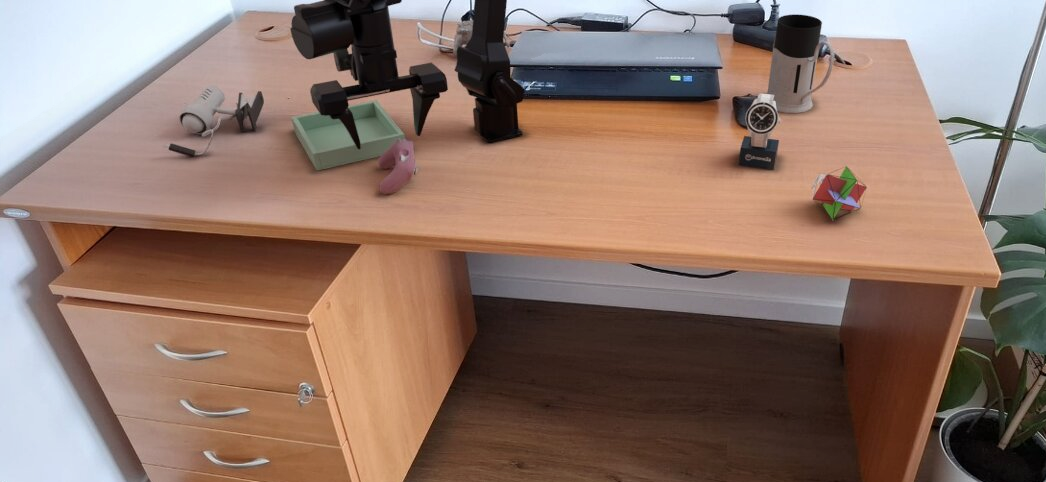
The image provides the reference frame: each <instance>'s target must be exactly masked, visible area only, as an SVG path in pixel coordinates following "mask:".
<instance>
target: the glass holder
mask: <svg viewBox="0 0 1046 482" xmlns="http://www.w3.org/2000/svg"><path fill="white" fill-rule="evenodd" d="M822 25H823V21H822V20H821V19H820V18H817V17H815V16H811V15H808V14H807V15H806V14H785V15H782V16H779V17H778V18H777V22H776V30H775V37H774V39H773V44H772V45H773V46H772V53H771V61H770V69H769V78H768V85H767V93H766V94H770V95H774V100H773V101H775V103H776V109H777V112H779V113H786V114H801V113H804V112H807V111H810V110H811V109H812V108H813V107H814V106H813V101H812V94H813V93H815V92H817V91H818V90H819V89H821V88H822V87H824V86H825V84H826V83H827V82H828V80H829V78H830V76H831V74H832V71H833V67H834V63H835V49H834V46H833V45H832V44H831V43H830V42H829V41H820V39H821V33H822V27H823V26H822ZM823 45H825V46H826V47H827V48H828V51H829V55H830V57H829V63H828V68H827V71H826V74H825V76H824V78H823V79H822V81H821V82H820V84H818V86H816V87H814V82H815V76H816V71H817V69H816V68H817V64H818V57H819V53H820V50H821V47H822V46H823Z"/></svg>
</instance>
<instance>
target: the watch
mask: <svg viewBox="0 0 1046 482" xmlns="http://www.w3.org/2000/svg"><path fill="white" fill-rule="evenodd" d="M773 100H774V95H770V94H767V93H758V95H757V98H754V99H753V102H752V104H751V105H750V107H749V108H748V109H747V111H746V113H745V124H746V128H747V133H748V135H744V136H743V138H742V142H741V145H740V149H739V158H738V166H740V167H741V166H742V167H749V168H755V169H765V170H772V171H774V170H775V166H776V162H777V158H778V151H779V144H780V140H779V139H773V138H771V137H772V135H773V132H774V131H775V129H776V127H777V126H778V124H781V123H782V118H780V117H779V113H778V112H779V111H777V109H776V103H775V101H773Z"/></svg>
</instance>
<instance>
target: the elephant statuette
mask: <svg viewBox="0 0 1046 482" xmlns="http://www.w3.org/2000/svg"><path fill="white" fill-rule="evenodd" d="M456 25H457V27H456V29H455V35H454V39H453V48H452V54H453V56H454V57H456V58H457V48H458V47H459V46H461V47H463V45H465V46H466V44H467V43H468V41H469V40H470V38H471V36H472V28H473V19H469V20H463V21H461V22H459V23H457V24H456ZM503 40H504V44H505V47H506V48H510V46H511V43H510V41H509V39H508V36H507V35H506V32H504V36H503Z"/></svg>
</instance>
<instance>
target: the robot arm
mask: <svg viewBox="0 0 1046 482" xmlns="http://www.w3.org/2000/svg"><path fill="white" fill-rule="evenodd" d="M402 1H403V0H319V1H315V2H311V3H300V4H296V5H294V6H293V11H294V14H295V15H294V16H292V18H291V27H290V34H291V37H292V40H293V43H294V45H295V47H296V49H297V51H298V52H299V54H300V55H301V56H302V57H303V58H304V59H306V60H314V59H316V58H319V57H323V56H327V55H331V54H333V59H334V63H335V67H336V71H337V72H339V73H341V72H345V71H349V72H350V76H351V77H352V79H353V80H354V81H355V82H358V84H354V85H349V86H342V85H341V84H340V83H339V81H338V79H334V80H329V81H324V82H319V83H318V82H317V83H313V84H312V85H311V88H310V89H309V90H310V91H309V92H310V97H311V102H312V104H313V106H314V107H315V108H316V110H317V112H319V113H320V114H321V115H324V116H328V115H329V116H330V117H331V119H340V121H341V122H342V123H343V124H344V126H345V128H346V129H347V131H348V133H349V135H350V137H351V138H352V140H353V142H354V144H355V145H356V147H357V149H358V150H359V149H361V145H360V139H359V136H358V132H357V128H356V125H355V121H354V118H353V114H352V112H351V111H350V109H349V108H348V106H350V105H349V101H354V100H358V99H364V98H369V97H375V96H378V95H379V96H380V95H384V94H385V95H386V94H389V93H395V92H401V91H405V90H410V95H411V98H412V112H413V113H412V114H413V115H412V116H413V127H414V132H415V136H417V137H421V135H422V132H423V129H424V126H425V123H426V120H427V118H428V114H429V112H430V111H431V108H432V107H433V104H434V102H435V100H437V99H440V97H441V94H443V93H446V92H448V91H449V86H448V79H447V77H446V74H445V72H443V71H442V70H441V69H440V68H439V67H438V66H436V65H435V64H434V63H433V62H426V63H422V64H421V63H420V64H416V65H410V66H409V69H408V74H407V75H406V74H405V75H401V76H399V70H398V64H397V63H398V62H397V58H398V54H397V50H396V49H395V43H394V36H393V31H392V24H391V16H390V10H389V7H390V6H394V5H398V4H401V3H402ZM507 3H508V0H474V2H473V4H474V5H473V17H472V20H473V28H472V36H471V38H470V40H469V41H468V43H467V44H466V45H465V46H462V47H461V46H459V47H458V48H457V57H456V65H455V67H454V72H456V73H457V79H458V82H459V83H460V84H461V85H462V86H463V88H465V89H466V91H467V93H468V95H469V96H471V97H474V105H475V107H473V109H472V114H473V124H474V126H473V129H474V131H475V132H476V133H477V134H478V135H479V136H480V137H481V138H482V139H483V140H484V141H485V142H486V143H489V144H490V143H495V142H499V141H503V140H507V139H512V138H517V137H520V136H523V130H521V129H520V128H519V115H518V104H520V103H522V102H523V101H524V96H525V91H526V89H525V87H523V86H522V85H521V84H519V83H518V82H517V81H516V80H515V79H513V77H511V75H512V73H511V59H510V56H509V54H508V51H507V47H506V44H505V41H504V38H503V36H504V33H505V27H506V25H505V23H506V14H507ZM349 48H350V50H351V53H349V50H348V49H349Z"/></svg>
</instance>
